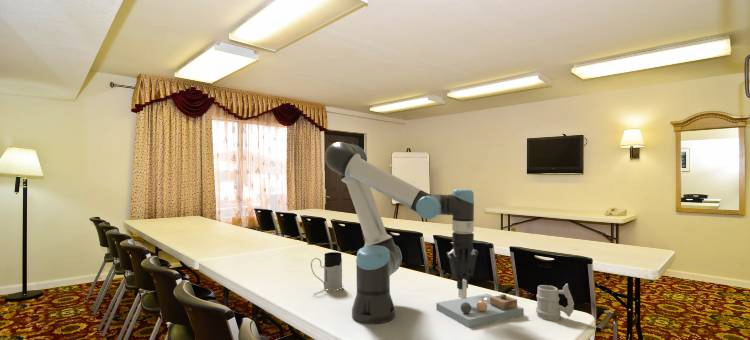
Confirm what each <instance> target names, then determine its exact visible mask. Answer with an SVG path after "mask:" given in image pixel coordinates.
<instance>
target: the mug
mask: <svg viewBox="0 0 750 340" xmlns="http://www.w3.org/2000/svg"><path fill="white" fill-rule="evenodd" d="M559 294H561V295H564V297H565V298H566V299H567V305H566V306H565V307H564V306H563V305H561V304H560V303H559V301H560V296H559ZM536 300H537V302H536V305H537V306H536V307H535V311H536V315H537V317H538V318H540V319H543V320H547V321H557V320H560V317H561V315H562V313H561V312H563V313H564V314H565V315H566V316H567V317H571V315H572V314H573V313H574V306H575V302H574V300H573V296H572V294H571V291H570V289H569V284H568V283H565V285H564V286H562V289H558V287H556V286H553V285H547V284H545V285H544V284H542V285H541V284H540V285H537V294H536Z"/></svg>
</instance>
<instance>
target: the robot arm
mask: <svg viewBox="0 0 750 340" xmlns="http://www.w3.org/2000/svg"><path fill="white" fill-rule="evenodd" d="M324 161H325V164H326V165H327V167H328V168H329V169H330V170H331V171H333V172H335V173H337V174H338V175H339V178H340V181H341V182H343V183H345V184H346V187H347V190H348V193H349V196H350V199H351V201H352V203H353V204H352V205H353V206H354V209H355V213H356V216H357V219H358V222H359V224H360V227H361V230H362V232H363V236H364V238H365V243H364V245H363V247H361V248H359V249H358V250H357V253H356V259H355V263H356V265H355V266H356V295H355V299H354V301H353V305H352V309H351V317H352V318H354V319H353V320H355V321H356V322H359V321H360V323H363V322H364V323H365V324H382V323H386V322H389V321H391V320H394V319H395V316H396V308H395V305H394V301H393V298H392V296H391V290H390V289H391V286H390V285H391V282H390V278H391V277H390V276H392V275H393V274H394V273H396V271H398V270H399V268H400V266H401V264H402V259H403V256H402V255H403V254H402V251H401V249H400V247H399V246H398V245H396V244H395V242H394V239H393V236H392V235H390V234H388V232H387V231H386V228H385V225H384V223H383V219H382V216H381V214H380V213H381V212H380V211H379V208H378V204H377V202H376V200H375V196H374V194H373V190H375V191H377V192H379V193H380V194H382V195H384V196H386V197H388V198H390V199H392V200H393V201H396V202H397V203H400V204H401V205H403V206H405V207H407V208H408V209H410V210H412V211H413V212H415V213H417V215H418V216H419V217H421V218H422V219H424V220H431V219H436V218H437V217H438V216H452V219H451V220H452V227H451V229H452V231H453V232H452V236H451V237H452V247H451V250H450V251H447V252H446V257H447V258H448V260H449V266H450V271H451V275H452V278H453V279H456V288H457V289H458V295H457V296H458V298H459V299H461V298H462V299H467V297H468V296H467V295H468V294H467V292H468V291H467V289H469V281H471V278H473V277H474V271H475V267H476V262H477V257H478V255H479V251H478V250H477V249H474V245H473V244H474V237H475V233H474V226H475V225H474V224H475V223H474V221H475V214H474V213H475V197H474V191H473V190H472V189H453V190H452V194H441V193H440V194H435V193H434V194H433V193H428V192H426V191H424V190H422V189H420V188H418V187H416V186H414V185H413V184H410V183H409V182H407V181H405V180H404V179H401V178H400V177H397V176H395V175H394V174H392V173H390V172H388V171H386V170H384V169H381V168H380V167H378V166H376V165H374V164H373V163H370V162H369V161H368V157H367V154H366V152H365V150H364V149H363V148H362V147H360V146H359V145H357V144H354V143H347V142H343V141H337V142H333V143H331V144H330V145H329V146H328V147H327V149H326V150H325V154H324ZM372 189H373V190H372Z"/></svg>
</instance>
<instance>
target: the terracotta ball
mask: <svg viewBox="0 0 750 340" xmlns="http://www.w3.org/2000/svg"><path fill="white" fill-rule="evenodd" d="M477 309H478V310H479V311H481V312H483V311H486V309H487V304H486V302H484V301H479V302H478V303H477Z"/></svg>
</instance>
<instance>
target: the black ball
mask: <svg viewBox="0 0 750 340" xmlns="http://www.w3.org/2000/svg"><path fill="white" fill-rule="evenodd" d="M461 311H462V312H463V313H466V314H467V313H469V312H470V311H471V306H470V304H469V303H466V302H464V303H462V304H461Z"/></svg>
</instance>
